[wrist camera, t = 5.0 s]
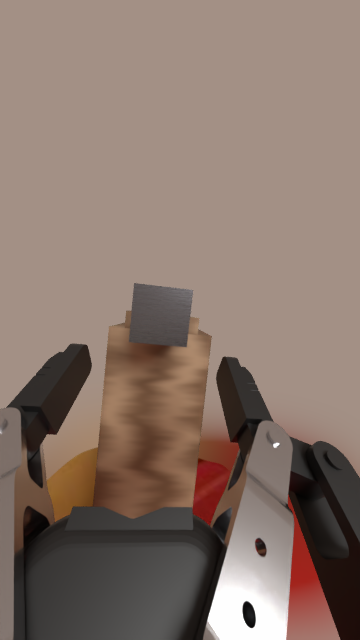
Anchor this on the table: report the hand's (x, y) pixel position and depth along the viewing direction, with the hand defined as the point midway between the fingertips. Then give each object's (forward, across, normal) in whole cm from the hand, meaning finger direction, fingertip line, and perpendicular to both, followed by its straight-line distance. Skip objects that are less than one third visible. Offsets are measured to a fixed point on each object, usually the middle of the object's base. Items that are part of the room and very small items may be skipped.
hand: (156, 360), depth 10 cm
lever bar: (+12, 0, +6) cm, 14 cm away
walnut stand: (-2, 0, +35) cm, 35 cm away
